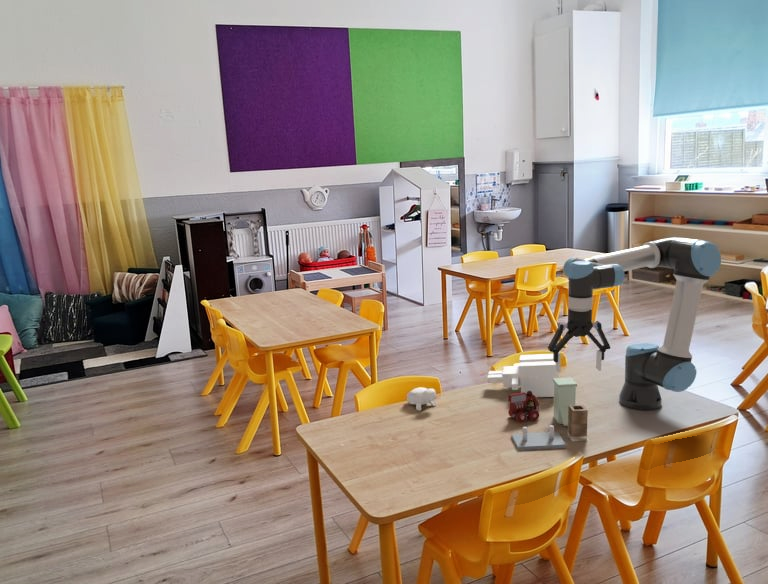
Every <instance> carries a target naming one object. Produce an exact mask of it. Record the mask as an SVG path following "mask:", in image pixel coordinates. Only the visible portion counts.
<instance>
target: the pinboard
mask: <svg viewBox="0 0 768 584" xmlns="http://www.w3.org/2000/svg"><path fill="white" fill-rule="evenodd" d="M510 435H511V439H512V441H513V443H514V445H515V447H516V449H517V451H530V450H531V451H532V450H533V451H534V450H546V449H547V450H549V449H550V450H551V449H566V448H567V444H566V442H565V441H564V440H563V439H564V438H562V436H561V434H560V433H559V432H558V431H555V426H554V425H548V431H545V432H544V431H542V432H540V431H539V432H528V427H527V426H522V433H511V434H510Z"/></svg>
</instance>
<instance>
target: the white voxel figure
mask: <svg viewBox="0 0 768 584" xmlns="http://www.w3.org/2000/svg"><path fill="white" fill-rule="evenodd" d="M502 368H503V369H502V370H489V371H488V374H487V377H486V378H487V384H495V383H496V384H497V383H503V385H502V386H503V387H505V388H506V387H507V388H510V387H511V390H512V391H519V387H520V393H521V392H525V393H526V394H527V391H532V394H533V395H535V397H536V398H548V397H549V398H550V397H551V398H554V382H553V378H559V372H557V370H556V362H554V360H553V353H539V354H538V353H537V354H536V353H535V354H521V355H519V362H518V363H513V365H507V366H504V365H503V367H502Z"/></svg>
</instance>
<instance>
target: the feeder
mask: <svg viewBox="0 0 768 584" xmlns="http://www.w3.org/2000/svg"><path fill="white" fill-rule="evenodd" d="M553 382H554V397H553V418H554V420H555V421H556V423H557V424H560V425H561V424H563V426H564V427H565V426H567V427H568V405H576V392H577V391H576V390H577V388H576V387H578V383H577V381H575V380H574V378H572V376H571V377H558V378H553Z"/></svg>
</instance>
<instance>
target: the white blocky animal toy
mask: <svg viewBox="0 0 768 584" xmlns="http://www.w3.org/2000/svg"><path fill="white" fill-rule="evenodd" d="M406 399H407V400H406V401H407V404H410V405H415V409H416V411H417V410H418V412H420V411H421V410H422V406H423V405H426V404H430V405H431V406H432V407H436V406H437V404H436V402H435V401H436V400H437V392H436V389H434V388H426V387H424V386H422V387H421V386H420V387H415V388H414V389H411V391H408V393H407V395H406Z"/></svg>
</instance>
